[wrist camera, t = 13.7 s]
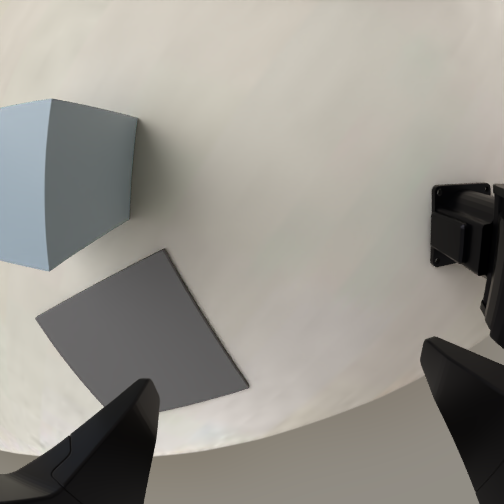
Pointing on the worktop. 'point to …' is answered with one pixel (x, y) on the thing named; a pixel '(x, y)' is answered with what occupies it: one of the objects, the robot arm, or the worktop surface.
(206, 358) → the mat
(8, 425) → the worktop surface
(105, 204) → the cover
